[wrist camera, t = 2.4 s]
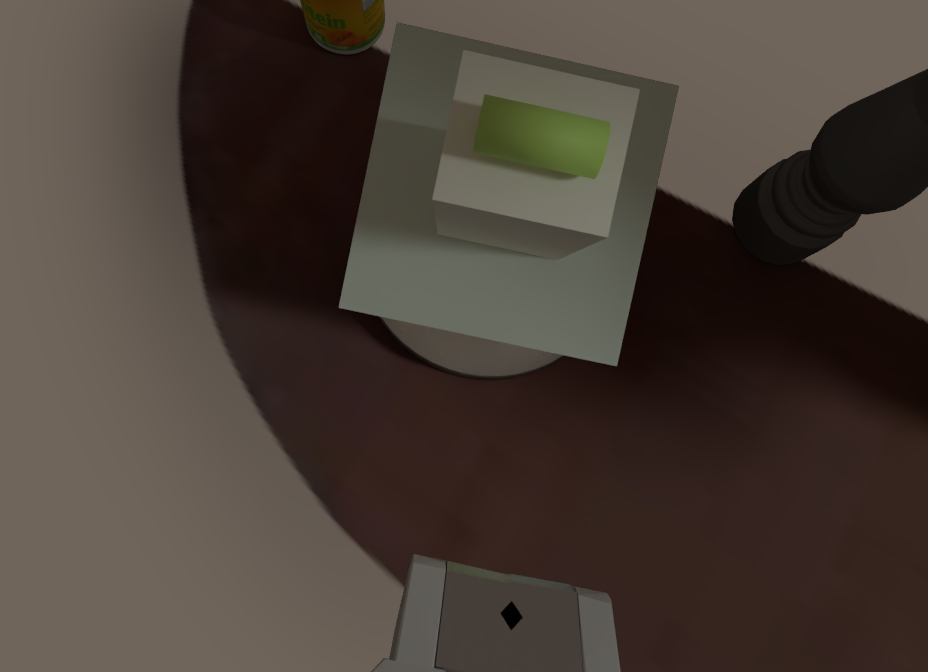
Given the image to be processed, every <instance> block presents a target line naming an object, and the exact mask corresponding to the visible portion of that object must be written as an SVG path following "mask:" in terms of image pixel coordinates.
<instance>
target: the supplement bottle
mask: <svg viewBox="0 0 928 672" xmlns="http://www.w3.org/2000/svg"><path fill="white" fill-rule="evenodd" d="M300 1H301V5H302V9H303V13H304V17H305V22H306V25H307V28H308V31H309V33H310V35H311V36H312V38H313V39H314V40H315V41H316V42H317V43H318V44H319V45H320V46H321V47H323V48H324V49H326V50H328V51H331V52H334V53H337V54H355V53H359V52H362V51H364V50H366V49H368V48H370V47H371V46H372V45H373V44H374V43H375V42H376V41H377V40H378V39H379V37H380V35H381V34H382V31H383V28H384V22H385V11H384V0H300Z"/></svg>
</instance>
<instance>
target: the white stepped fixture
mask: <svg viewBox="0 0 928 672" xmlns="http://www.w3.org/2000/svg"><path fill="white" fill-rule="evenodd" d="M678 88H679V86H677V85H673V84H668V83H664V82H660V81H655V80H650V79H646V78H642V77H637V76H633V75H628V74H624V73H620V72H615V71H610V70H606V69H602V68H597V67H592V66H588V65H584V64H580V63H575V62H570V61H566V60H562V59H557V58H553V57H548V56H544V55H540V54H535V53H531V52H526V51H522V50H518V49H513V48H508V47H504V46H499V45H495V44H491V43H486V42H482V41H478V40H473V39H468V38H464V37H459V36H455V35H451V34H447V33H442V32H438V31H433V30H429V29H424V28H420V27H415V26H411V25H406V24H402V23H397V24H396V30H395V34H394V39H393V44H392V49H391V54H390V58H389V63H388V68H387V73H386V78H385V83H384V88H383V93H382V98H381V103H380V107H379V112H378V117H377V122H376V127H375V132H374V137H373V142H372V147H371V151H370V156H369V161H368V166H367V171H366V176H365V181H364V186H363V191H362V196H361V200H360V205H359V210H358V215H357V220H356V225H355V230H354V235H353V240H352V244H351V249H350V254H349V259H348V264H347V269H346V274H345V279H344V284H343V289H342V293H341V298H340V303H339V308H342V309H347V310H352V311H356V312H361V313H366V314H371V315H375V316H380V317H385V318H390V319H394V320H399V321H404V322H409V323H413V324H418V325H423V326H427V327H432V328H437V329H442V330H446V331H451V332H456V333H461V334H465V335H470V336H475V337H480V338H484V339H489V340H494V341H499V342H503V343H508V344H513V345H518V346H522V347H527V348H532V349H537V350H541V351H546V352H551V353H556V354H560V355H565V356H570V357H575V358H579V359H584V360H589V361H593V362H598V363H603V364H608V365H612V366H617V364H618V359H619V355H620V350H621V346H622V341H623V337H624V332H625V328H626V323H627V319H628V314H629V310H630V305H631V300H632V296H633V291H634V287H635V282H636V278H637V273H638V269H639V264H640V260H641V255H642V251H643V246H644V242H645V237H646V233H647V228H648V224H649V219H650V215H651V210H652V206H653V201H654V197H655V192H656V187H657V183H658V178H659V174H660V169H661V165H662V160H663V156H664V151H665V147H666V142H667V138H668V133H669V128H670V124H671V120H672V115H673V111H674V106H675V102H676V97H677V93H678Z"/></svg>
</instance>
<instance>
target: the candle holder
mask: <svg viewBox="0 0 928 672" xmlns="http://www.w3.org/2000/svg"><path fill="white" fill-rule="evenodd" d="M927 187H928V69H927V70H925V71H922V72H920V73H918V74H916V75H914V76H911V77H909V78H907V79H905V80H903V81H901V82H898V83H896V84H894V85H892V86H890V87H888V88H886V89H884V90H881V91H879V92H877V93H875V94H873V95H870V96H868V97H866V98H863V99H861V100H859V101H857V102H855V103H853V104H850V105H848V106H847V107H845V108H844V109H842V110H841V111H839V112H837V113H836V114H834V115H833V116H831V117H830V118H829V119H828V120H827V121H826V122H825V124H824V125H823V127H822V128H821V130H820V132H819V133H818V135H817V137H816V138H815V140H814V141H813V143H812V147H811V150H806V151H799V152H797V153H795V154H794V155H792V156H791V157H789V158H788V159H783V160H782V161H780V162H778V163H777V164H775V165H774V166H772V167H770V168H769V169H767V170H766V171H765V172H764V173H763V174H761V175H760V176H759V177H758V178H757V179H755V180H754V181H753V182H752V183H751V184H749V185H748V186H747V187H746V188H745V189H744V190H743V191H742V192H741V194H740V195H739V197H738V198H737V200H736V202H735V203H734V209H733V217H732V221H733V225H734V229H735V232H736V236H737V238H738V239H739V240H740V242H741V243H742V245H743V246H744V247H745V249H746V250H747V251H748V252H749V253H751V254H752V255H754V256H755V257H757V258H758V259H760V260H761V261H763V262H768V263H772V264H776V265H786V264H792V263H797V262H799V261H801V260H803V259H805V258H807V257H808V256H810V255H812V254H814V253H816V252H818V251H820V250H822V249H823V248H825V247H827V246H829V245H830V244H832V243H833V242H835V241H836V240H838V239H839V238H840V237H842V235H843V234H844V232H845V231H847V230H848V229H850V228H851V227H853V226H854V225H855V224H856V222H857V221H858V219H859V217H860V216H861V214H873V213H880V212H886V211H891V210H896V209H897V208H899V207H901V206H903V205H904V204H906V203H907V202H909V201H911V200H912V199H914V198H915V197H916V196H918V195H919V194H921V193H922V192H923V191H924V190H925V189H926V188H927Z"/></svg>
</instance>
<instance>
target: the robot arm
mask: <svg viewBox="0 0 928 672" xmlns="http://www.w3.org/2000/svg"><path fill="white" fill-rule="evenodd" d="M371 672H620V665H619V657H618V650H617V642H616V635H615V627H614V620H613V612H612V605H611V600H610V598H609V596H608V594H607V593H605V592H600V591H595V590H589V589H584V588H579V587H573V586H572V585H568V584H563V583H557V582H552V581H546V580H541V579H536V578H530V577H525V576H519V575H514V574H509V575H507V574H502V573H498V572H493V571H489V570H484V569H480V568H476V567H471V566H467V565H462V564H458V563H454V562H449V561H447V562H446V561H445V560H440V559H435V558H430V557H426V556H421V555H416V554H413V556H412V559H411V563H410V567H409V571H408V575H407V579H406V583H405V588H404V592H403V596H402V600H401V604H400V609H399V613H398V618H397V622H396V627H395V631H394V637H393V642H392V647H391V652H390V658H389V659H386V658H384V659H383V660H382V661H381V662H380V663H379V664H378V665H377V666H376V667H375V669H373V670H372V671H371Z"/></svg>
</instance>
